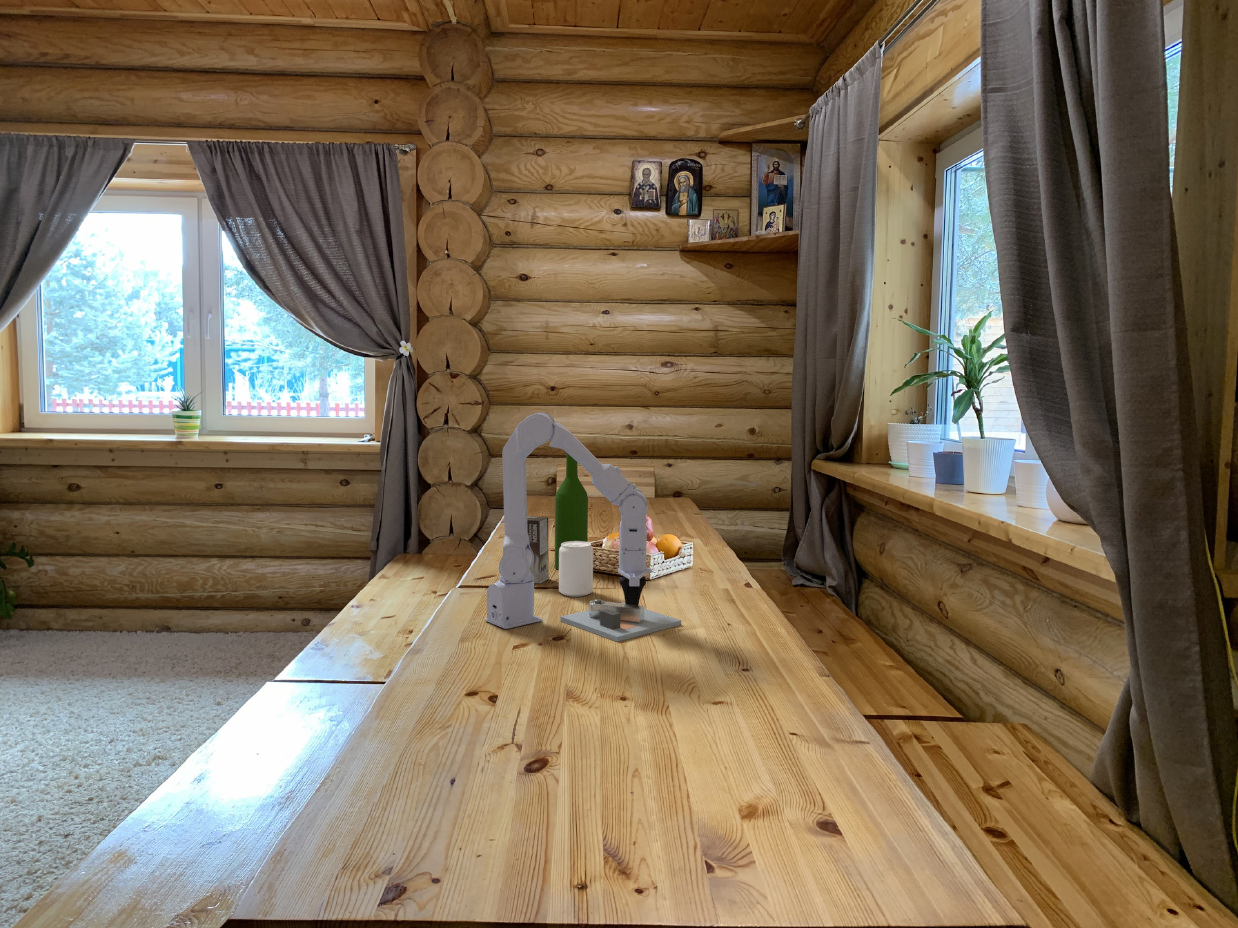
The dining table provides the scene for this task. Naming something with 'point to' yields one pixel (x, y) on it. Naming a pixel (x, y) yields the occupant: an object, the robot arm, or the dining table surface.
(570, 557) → the beverage can
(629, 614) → the latch bar
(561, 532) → the wine bottle
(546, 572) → the coffee box
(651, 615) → the latch board
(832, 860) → the dining table surface
